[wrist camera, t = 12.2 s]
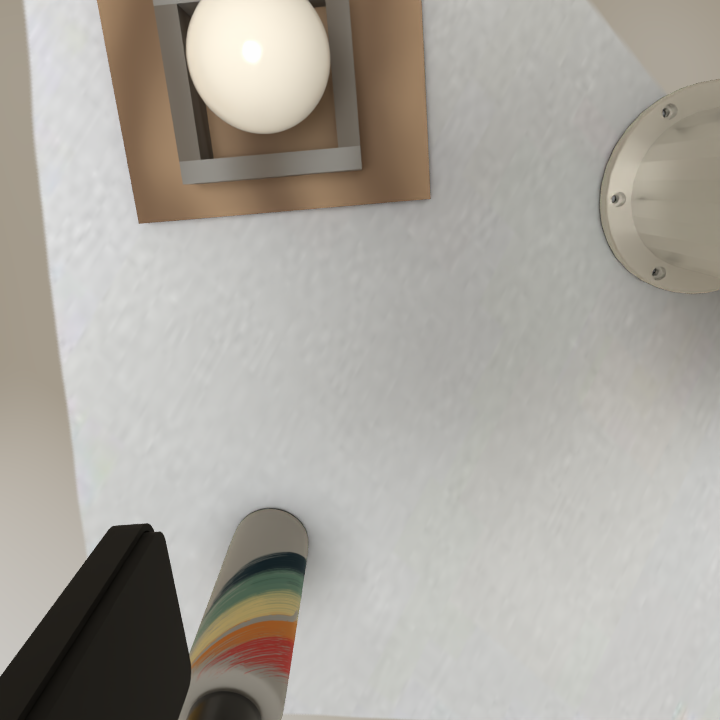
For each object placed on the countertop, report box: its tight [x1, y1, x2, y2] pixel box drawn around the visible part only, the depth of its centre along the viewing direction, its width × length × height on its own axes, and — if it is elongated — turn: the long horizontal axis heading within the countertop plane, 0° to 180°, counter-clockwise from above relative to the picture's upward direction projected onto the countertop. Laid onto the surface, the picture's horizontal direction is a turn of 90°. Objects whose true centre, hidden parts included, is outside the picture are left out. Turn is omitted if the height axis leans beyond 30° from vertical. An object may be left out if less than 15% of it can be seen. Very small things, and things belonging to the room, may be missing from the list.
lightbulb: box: [186, 0, 330, 134], centre depth 28 cm, size 6×6×11 cm
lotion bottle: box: [178, 509, 308, 720], centre depth 35 cm, size 6×6×20 cm
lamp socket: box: [97, 0, 430, 224], centre depth 33 cm, size 18×14×4 cm
